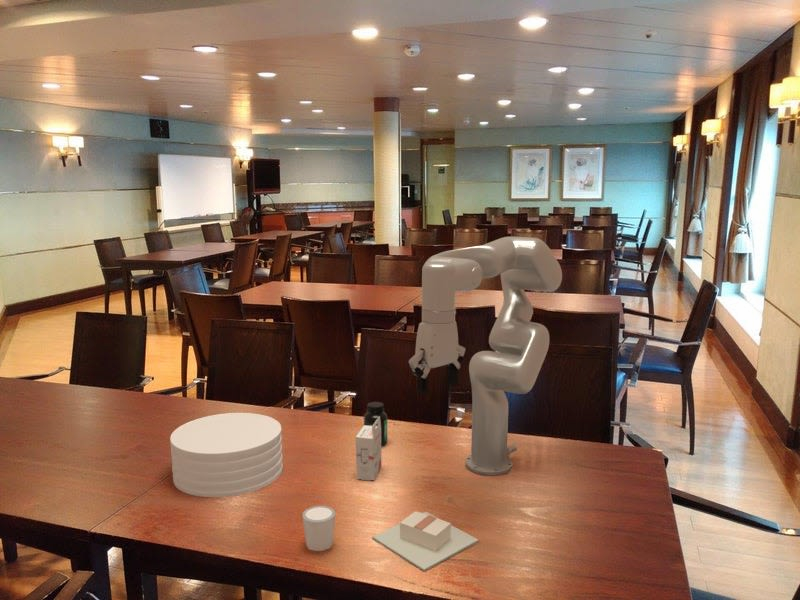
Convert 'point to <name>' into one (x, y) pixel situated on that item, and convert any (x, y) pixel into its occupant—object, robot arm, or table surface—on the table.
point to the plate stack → (226, 454)
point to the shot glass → (319, 527)
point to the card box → (425, 530)
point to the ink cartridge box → (368, 451)
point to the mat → (420, 554)
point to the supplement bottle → (372, 415)
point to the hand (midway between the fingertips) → (437, 389)
